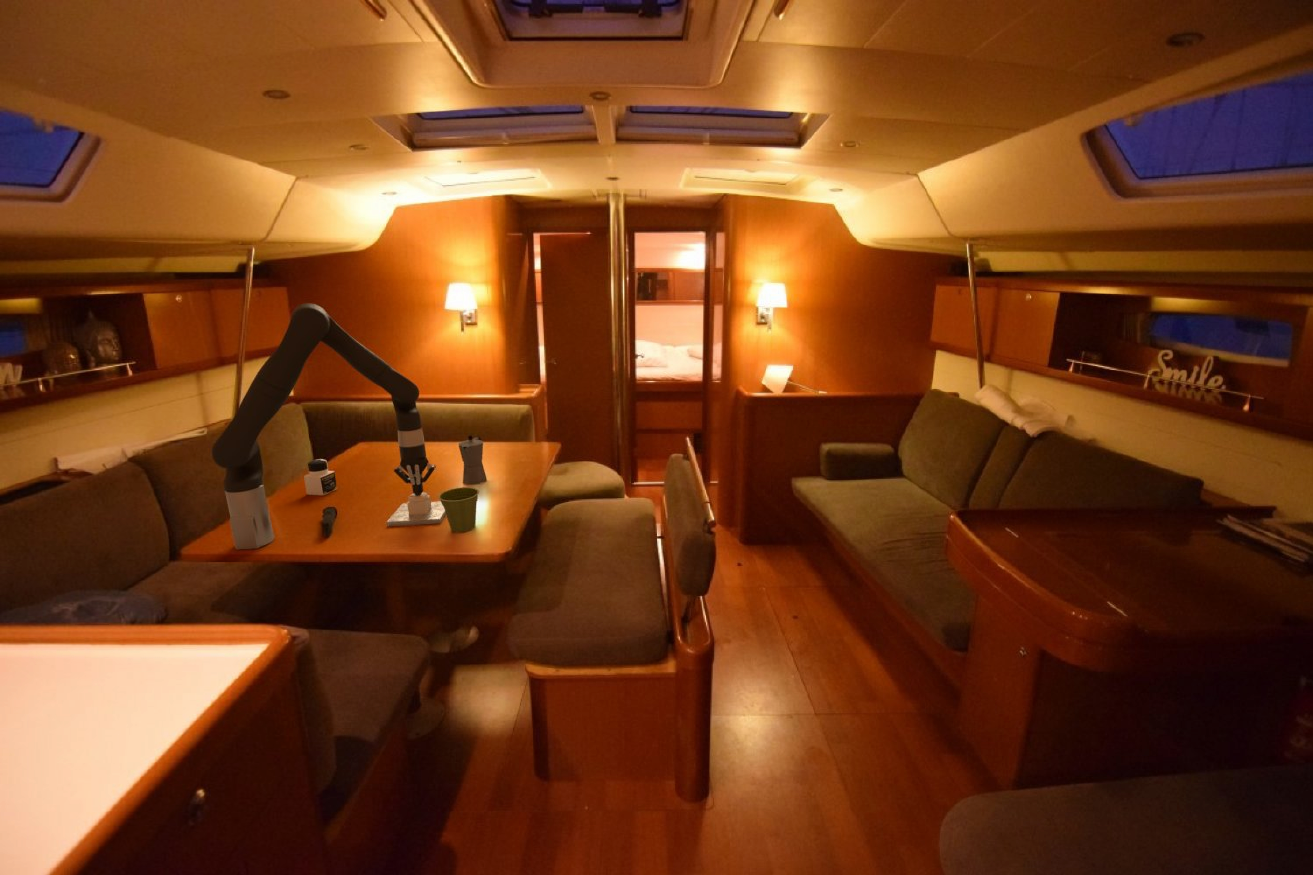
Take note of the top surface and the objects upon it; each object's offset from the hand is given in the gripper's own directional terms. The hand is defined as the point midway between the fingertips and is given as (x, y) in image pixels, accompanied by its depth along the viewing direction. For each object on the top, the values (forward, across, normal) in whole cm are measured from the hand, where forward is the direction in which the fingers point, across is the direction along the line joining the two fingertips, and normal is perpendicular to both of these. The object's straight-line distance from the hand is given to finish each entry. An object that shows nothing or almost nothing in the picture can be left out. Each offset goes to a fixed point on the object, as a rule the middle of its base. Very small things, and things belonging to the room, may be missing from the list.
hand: (418, 494), depth 190 cm
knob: (+6, 0, 0) cm, 6 cm away
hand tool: (+8, +26, +6) cm, 27 cm away
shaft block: (+7, 0, 0) cm, 7 cm away
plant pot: (+7, -16, +13) cm, 22 cm away
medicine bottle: (+7, +43, -29) cm, 52 cm away
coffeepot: (+7, -11, -34) cm, 36 cm away
